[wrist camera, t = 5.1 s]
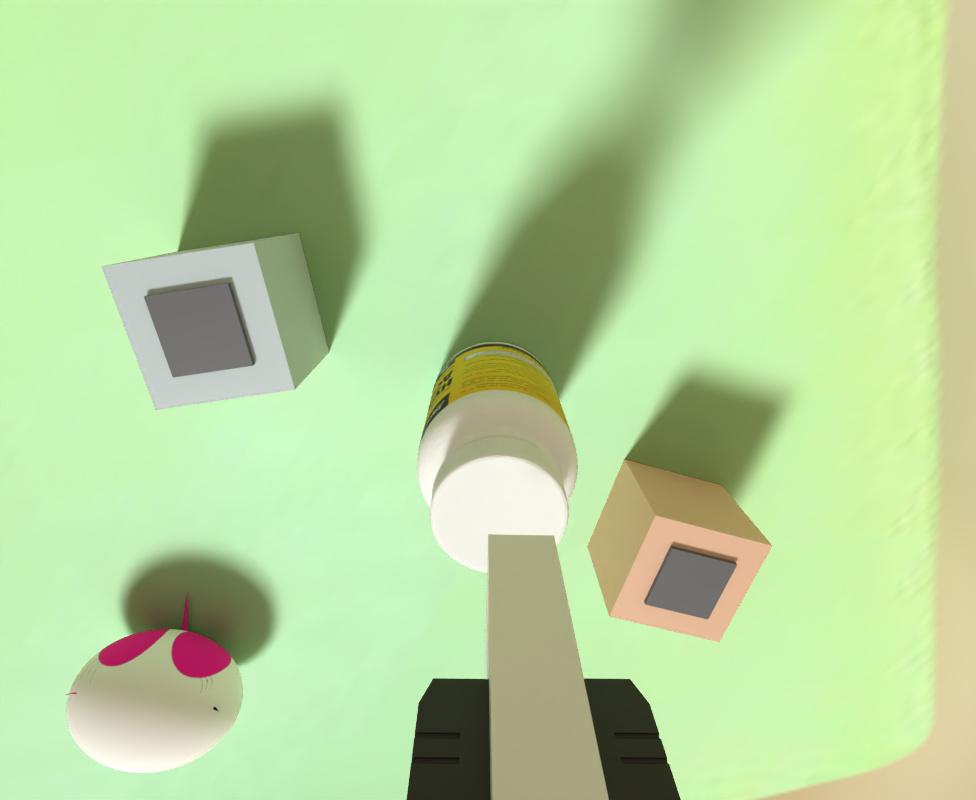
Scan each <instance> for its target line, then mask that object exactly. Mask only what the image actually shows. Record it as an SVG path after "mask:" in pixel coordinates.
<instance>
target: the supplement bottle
mask: <svg viewBox="0 0 976 800" xmlns="http://www.w3.org/2000/svg"><path fill="white" fill-rule="evenodd" d="M577 469H578V464H577V454H576V448H575V444H574V441H573V437H572V435H571V432H570V429H569V426H568V424H567V421H566V418H565V415H564V412H563V409H562V407H561V404H560V401H559V398H558V395H557V392H556V390H555V387H554V384H553V382H552V380H551V378H550V375H549V374H548V372H547V370H546V368H545V367H544V366H543V364H542V363H541V362H540V361H539V360H538V359H537V358H536V357H535V356H534V355H532V354H531V353H530V352H528V351H527V350H525V349H523V348H521V347H519V346H516V345H513V344H510V343H504V342H484V343H479V344H475V345H472V346H470V347H467V348H465V349H463V350H462V351H460V352H458V353H457V354H456V355H454V356H453V357H452V358H451V359H450V360H449V361H448V362H447V363H446V364H445V366H444V367H443V368H442V370H441V372H440V374H439V375H438V378H437V380H436V383H435V385H434V389H433V393H432V397H431V401H430V406H429V410H428V414H427V418H426V422H425V426H424V430H423V434H422V438H421V441H420V446H419V452H418V459H417V474H418V481H419V486H420V489H421V491H422V494H423V496H424V498H425V500H426V502H427V504H428V505H429V507H430V521H431V525H432V529H433V532H434V535H435V537H436V539H437V541H438V542H439V544H440V545H441V547H442V548H443V549H444V551H445V552H446V553H447V554H448V555H449V556H451V557H452V558H453V559H455V560H456V561H457V562H459V563H461V564H463V565H464V566H467V567H469V568H472V569H475V570H478V571H482V572H487V557H488V534H497V535H554V538H555V543H556V546H557V545H558V543H559V542H560V540H561V538H562V536H563V534H564V532H565V529H566V526H567V522H568V508H569V507H568V500H569V499H570V497H571V495H572V492H573V489H574V487H575V483H576V478H577Z"/></svg>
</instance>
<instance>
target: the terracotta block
mask: <svg viewBox="0 0 976 800" xmlns="http://www.w3.org/2000/svg"><path fill="white" fill-rule="evenodd" d="M771 547H772V545H771V544H770V543H769V541H768V540H767V539H766V538H765V537H764V535H763V534H762V533H761V532H760V531H759V529H758V528H757V527H756V526H755V525H754V523H753V522H752V521H751V520H750V519H749V517H748V516H747V515H746V514H745V513H744V511H743V510H742V509H741V508H740V507H739V505H738V504H737V503H736V502H735V501H734V500H733V498H732V497H731V496H730V495H729V494H728V492H727V491H726V490H725V489H724V488H723V486H722V485H719V484H715V483H711V482H707V481H704V480H700V479H696V478H693V477H689V476H685V475H681V474H678V473H674V472H670V471H666V470H663V469H659V468H655V467H652V466H648V465H644V464H640V463H637V462H633V461H629V460H626V459H624V461H623V463H622V466H621V468H620V471H619V473H618V475H617V478H616V480H615V482H614V485H613V487H612V490H611V492H610V494H609V497H608V499H607V501H606V504H605V506H604V508H603V511H602V513H601V516H600V518H599V520H598V523H597V525H596V527H595V530H594V532H593V535H592V537H591V539H590V542H589V544H588V550H589V553H590V556H591V559H592V562H593V566H594V569H595V572H596V575H597V578H598V582H599V585H600V588H601V591H602V594H603V598H604V601H605V604H606V607H607V610H608V613H609V616H610V617H615V618H619V619H623V620H627V621H632V622H636V623H640V624H645V625H649V626H653V627H657V628H662V629H666V630H670V631H674V632H679V633H683V634H687V635H692V636H696V637H700V638H704V639H709V640H713V641H717V642H720V640H721V638H722V636H723V634H724V632H725V631H726V629H727V627H728V625H729V623H730V622H731V620H732V618H733V616H734V614H735V612H736V611H737V609H738V607H739V605H740V603H741V602H742V600H743V598H744V596H745V594H746V593H747V591H748V589H749V587H750V585H751V583H752V582H753V580H754V578H755V576H756V574H757V573H758V571H759V569H760V567H761V565H762V563H763V562H764V560H765V558H766V556H767V554H768V553H769V551H770V549H771Z"/></svg>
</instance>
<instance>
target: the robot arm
mask: <svg viewBox="0 0 976 800" xmlns="http://www.w3.org/2000/svg"><path fill="white" fill-rule="evenodd" d="M485 664H486V679H433V680H432V682H431V684H430V685H429V687H428V689H427V690H426V692H425V694H424V695H423V697H422V699H421V700H420V702H419V706H418V714H417V722H416V730H415V738H414V746H413V754H412V763H411V770H410V778H409V786H408V794H407V800H680V797H679V793H678V790H677V787H676V784H675V781H674V778H673V775H672V772H671V769H670V766H669V764H668V763H667V757H666V753H665V750H664V747H663V744H662V741H661V739H659V732H658V729H657V726H656V723H655V720H654V717H653V713H652V710H651V707H650V704H649V703H648V702H647V700H646V699H645V698H644V696H643V695H642V694H641V693H640V691H639V690H638V689H637V688H636V686H635V685H634V684H633V682H632V681H631V680H630V679H584V678H583V673H582V668H581V663H580V658H579V653H578V649H577V644H576V639H575V634H574V629H573V625H572V620H571V615H570V610H569V605H568V600H567V596H566V591H565V586H564V581H563V576H562V571H561V567H560V562H559V557H558V552H557V547H556V543H555V538H554V535H497V534H488V557H487V590H486V623H485Z"/></svg>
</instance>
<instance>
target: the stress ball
mask: <svg viewBox="0 0 976 800" xmlns="http://www.w3.org/2000/svg"><path fill="white" fill-rule="evenodd" d="M187 592H188V591H187ZM242 697H243V685H242V678H241V674H240V671H239V669H238V667H237V665H236V663H235V661H234V660H233V658H232V657H231V656H230V654H229V653H228V652H227V651H226V650H225V649H224V648H222V647H221V646H220V645H219V644H217V643H216V642H214V641H213V640H211V639H209V638H207V637H205V636H202V635H200V634H197V633H193V632H189V631H187V598H186V605H185V612H184V619H183V626H182V630H177V629H157V630H149V631H144V632H140V633H136V634H133V635H130V636H127V637H124V638H122V639H120V640H118V641H116V642H114V643H112V644H110V645H109V646H107V647H106V648H104V649H103V650H101V651H100V652H99V653H97V654H96V655H95V656H94V657H93V658H92V659H91V660H90V661H89V662H88V663H87V664H86V665H85V666H84V667H83V668H82V670H81V671H80V673H79V674H78V675H77V677H76V679H75V681H74V682H73V685H72V687H71V690H70V692H69V696H68V701H67V709H66V713H67V721H68V726H69V729H70V732H71V734H72V736H73V738H74V740H75V742H76V743H77V744H78V746H79V747H80V748H81V749H82V750H83V751H84V752H85V753H86V754H87V755H88V756H89V757H91V758H92V759H94V760H95V761H97V762H99V763H101V764H103V765H105V766H108V767H110V768H113V769H117V770H120V771H126V772H136V773H147V772H158V771H164V770H168V769H172V768H176V767H179V766H182V765H184V764H187V763H189V762H191V761H193V760H195V759H197V758H198V757H200V756H202V755H203V754H205V753H206V752H208V751H209V750H210V749H212V748H213V747H214V746H215V745H216V744H217V743H219V741H220V740H221V739H222V738H223V737H224V736H225V735H226V734H227V732H228V731H229V730H230V728H231V727H232V725H233V724H234V722H235V720H236V717H237V715H238V713H239V710H240V707H241V703H242Z"/></svg>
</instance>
